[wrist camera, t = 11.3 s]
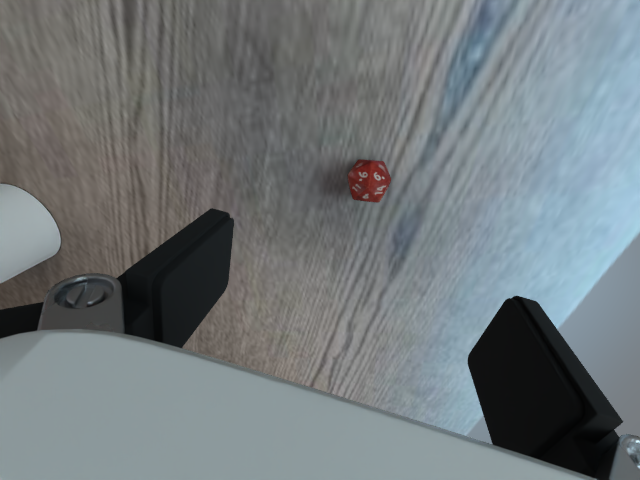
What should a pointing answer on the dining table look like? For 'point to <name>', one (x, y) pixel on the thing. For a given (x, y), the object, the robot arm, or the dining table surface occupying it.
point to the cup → (24, 232)
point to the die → (368, 180)
